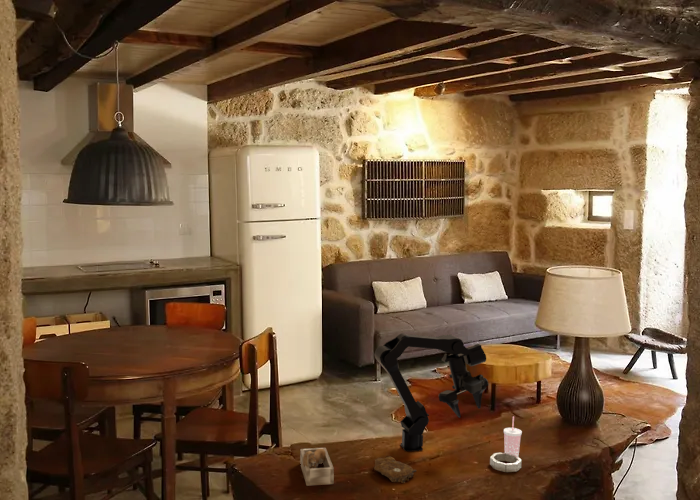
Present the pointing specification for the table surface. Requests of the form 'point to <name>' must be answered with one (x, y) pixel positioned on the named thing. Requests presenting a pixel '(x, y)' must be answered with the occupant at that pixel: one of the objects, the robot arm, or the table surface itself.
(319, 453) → the lion figurine
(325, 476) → the open figurine box
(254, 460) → the table surface
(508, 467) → the cup holder ring
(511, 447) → the beverage cup
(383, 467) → the decorative rock
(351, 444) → the table surface
